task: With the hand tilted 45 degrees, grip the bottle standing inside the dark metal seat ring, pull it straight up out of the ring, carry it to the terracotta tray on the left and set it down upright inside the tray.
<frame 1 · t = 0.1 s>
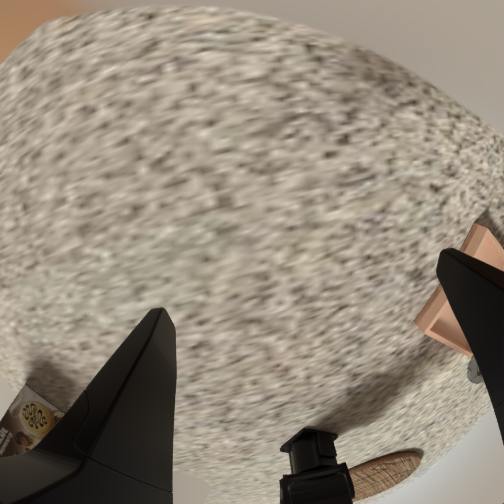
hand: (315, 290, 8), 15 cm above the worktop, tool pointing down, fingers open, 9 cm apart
seat ring: (494, 349, 30), on the worktop
trivet: (367, 477, 43), on the worktop
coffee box: (44, 405, 33), on the worktop
tray: (471, 294, 26), on the worktop
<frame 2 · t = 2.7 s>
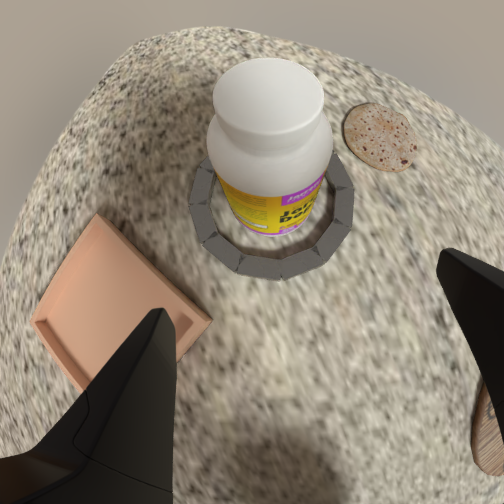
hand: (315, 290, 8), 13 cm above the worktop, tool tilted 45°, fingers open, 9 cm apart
supplement bottle: (272, 199, 23), resting in seat ring
seat ring: (272, 198, 23), on the worktop
tray: (111, 323, 22), on the worktop
flatbread: (380, 138, 23), on the worktop
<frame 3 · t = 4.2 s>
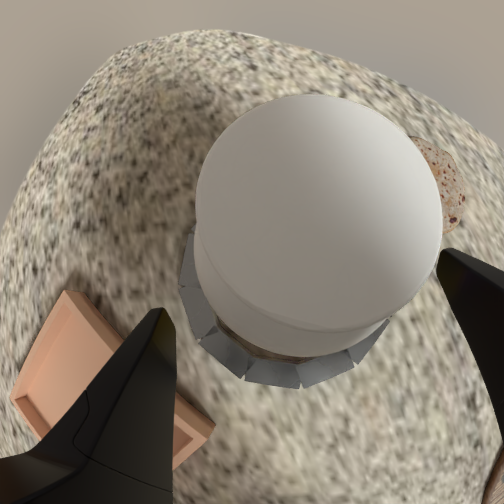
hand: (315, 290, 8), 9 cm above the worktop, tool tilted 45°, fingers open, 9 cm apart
supplement bottle: (289, 278, 17), resting in seat ring
seat ring: (290, 277, 17), on the worktop
tray: (98, 412, 16), on the worktop
flatbread: (424, 185, 18), on the worktop
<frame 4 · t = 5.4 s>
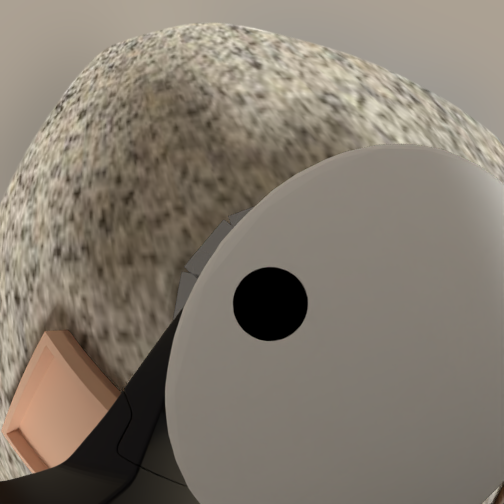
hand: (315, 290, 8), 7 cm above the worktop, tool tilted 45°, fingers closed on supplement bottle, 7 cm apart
supplement bottle: (301, 323, 14), resting in seat ring, touching gripper
seat ring: (301, 323, 14), on the worktop
tray: (92, 453, 13), on the worktop
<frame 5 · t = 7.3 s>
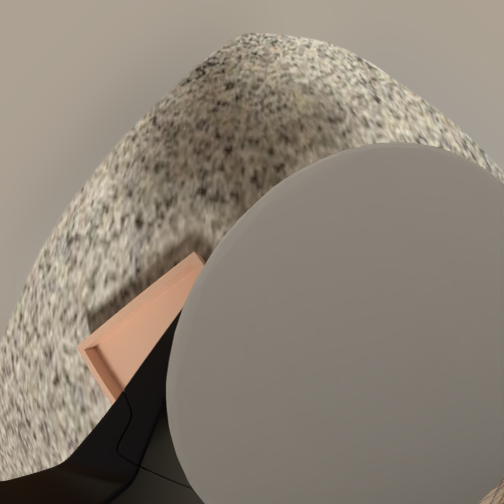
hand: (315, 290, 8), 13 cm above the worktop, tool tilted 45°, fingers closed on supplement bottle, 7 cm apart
supplement bottle: (303, 322, 14), point 6 cm above the worktop, touching gripper
tray: (186, 371, 20), on the worktop
when the fingers open (8 cm above the worktop, at t = 9.5 s): supplement bottle stays where it is, resting on tray.
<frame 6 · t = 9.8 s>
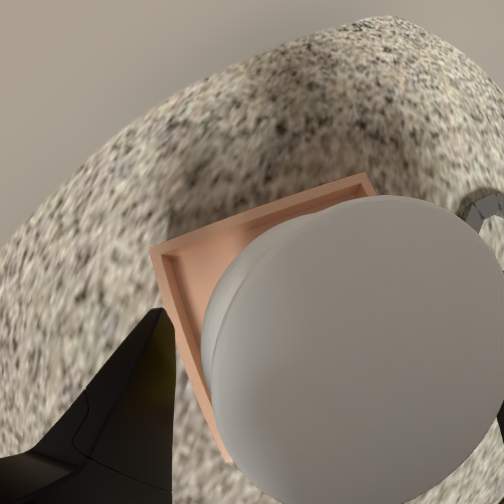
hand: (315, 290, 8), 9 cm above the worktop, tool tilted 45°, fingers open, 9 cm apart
supplement bottle: (300, 324, 15), point 1 cm above the worktop, touching tray
tray: (299, 321, 16), on the worktop
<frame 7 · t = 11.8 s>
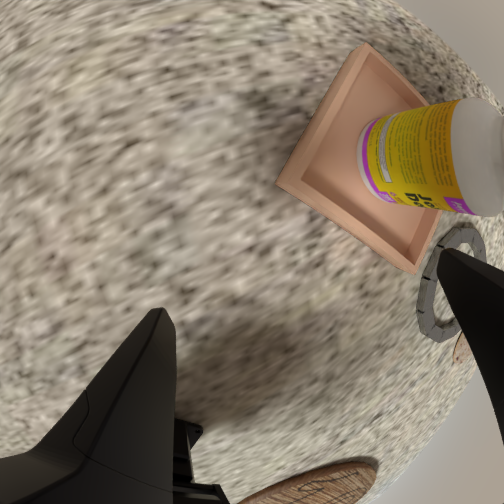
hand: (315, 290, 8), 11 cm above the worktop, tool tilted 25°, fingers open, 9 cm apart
supplement bottle: (385, 160, 19), point 1 cm above the worktop, touching tray
seat ring: (453, 284, 25), on the worktop
trivet: (301, 502, 30), on the worktop
tray: (381, 159, 20), on the worktop
flatbread: (466, 338, 30), on the worktop
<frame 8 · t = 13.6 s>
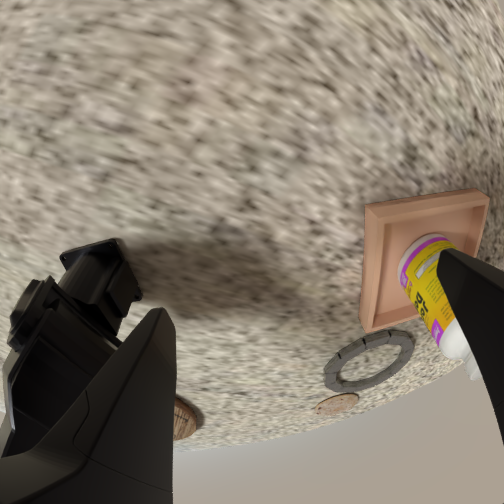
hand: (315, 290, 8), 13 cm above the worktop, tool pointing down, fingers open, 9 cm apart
supplement bottle: (421, 259, 24), point 1 cm above the worktop, touching tray
seat ring: (368, 362, 34), on the worktop
trivet: (125, 406, 39), on the worktop
tray: (420, 255, 24), on the worktop
flatbread: (335, 402, 41), on the worktop
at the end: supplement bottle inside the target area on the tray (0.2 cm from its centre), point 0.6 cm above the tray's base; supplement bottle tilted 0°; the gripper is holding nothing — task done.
